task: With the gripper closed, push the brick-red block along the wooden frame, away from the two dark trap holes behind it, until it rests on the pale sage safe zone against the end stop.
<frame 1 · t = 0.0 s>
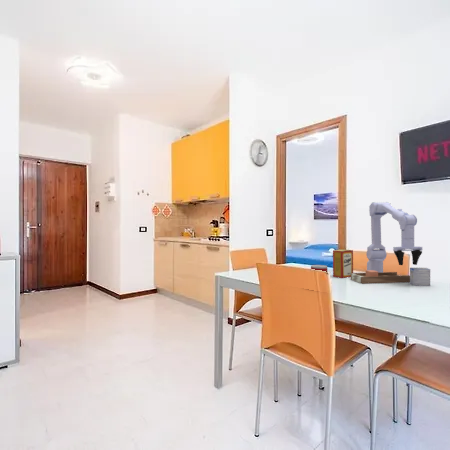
hand: (407, 264, 158), 10 cm above the table, tool pointing down, fingers open, 7 cm apart
baking soda box: (343, 276, 182), on the table
wooden frame: (379, 280, 168), on the table
canned food: (319, 288, 152), on the table
medicine box: (419, 285, 156), on the table
block: (371, 277, 168), point 2 cm above the table, touching wooden frame
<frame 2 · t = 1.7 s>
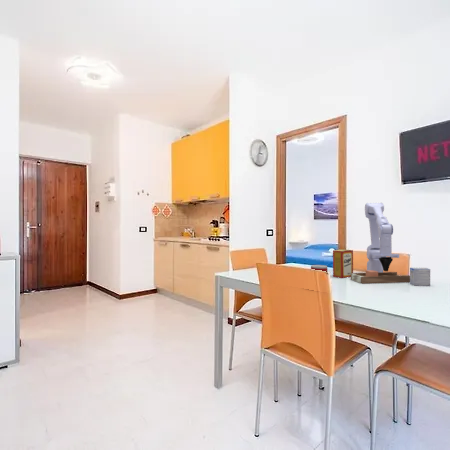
hand: (385, 271, 168), 5 cm above the table, tool pointing down, fingers closed
nothing on the table moved.
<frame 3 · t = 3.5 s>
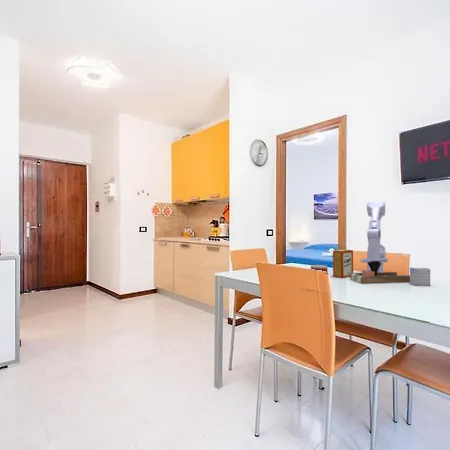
hand: (374, 275, 168), 3 cm above the table, tool pointing down, fingers closed
block: (368, 277, 167), point 2 cm above the table, touching gripper, wooden frame
everything else where it was.
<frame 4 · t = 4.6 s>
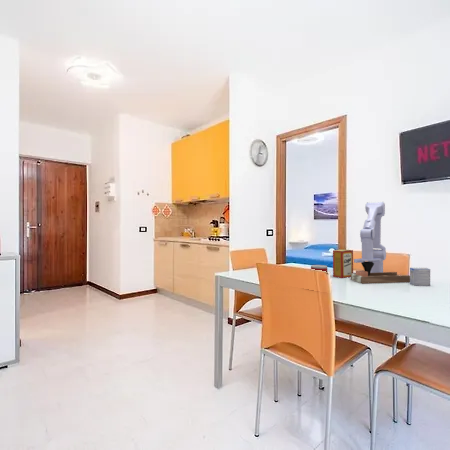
hand: (367, 275, 167), 3 cm above the table, tool pointing down, fingers closed
block: (361, 277, 167), point 2 cm above the table, touching gripper, wooden frame
everything else where it was.
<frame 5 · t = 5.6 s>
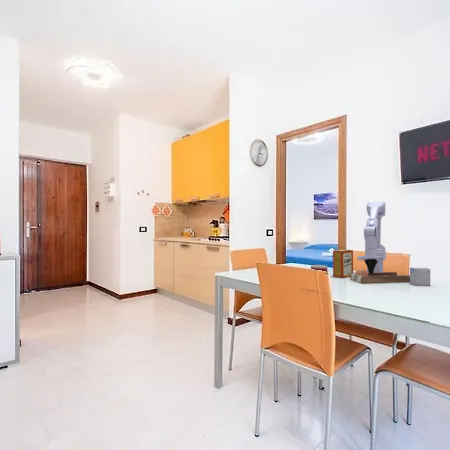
hand: (370, 273, 168), 4 cm above the table, tool pointing down, fingers closed
block: (361, 277, 167), point 2 cm above the table, touching wooden frame
everything else where it was.
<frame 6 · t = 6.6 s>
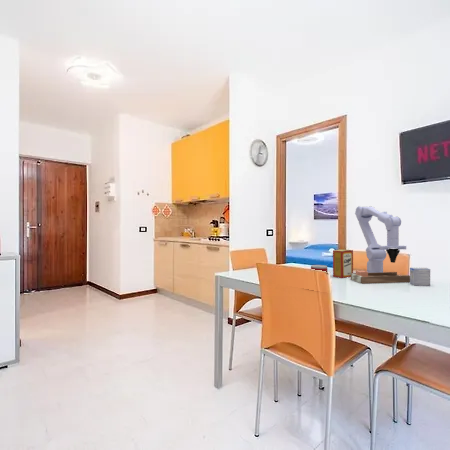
hand: (392, 262, 172), 9 cm above the table, tool pointing down, fingers closed
nothing on the table moved.
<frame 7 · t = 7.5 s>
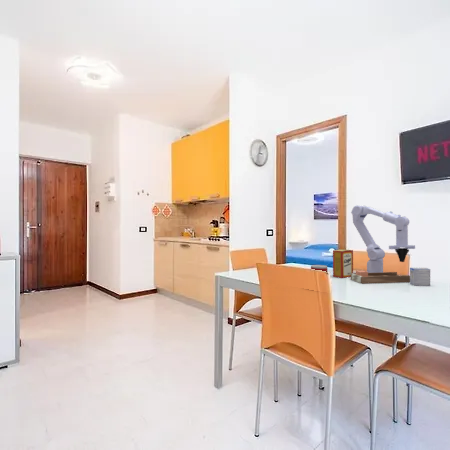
hand: (402, 261, 174), 9 cm above the table, tool pointing down, fingers closed
nothing on the table moved.
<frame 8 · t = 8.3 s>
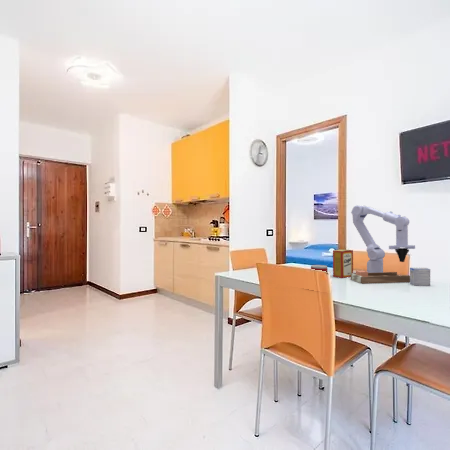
hand: (402, 261, 174), 9 cm above the table, tool pointing down, fingers closed
nothing on the table moved.
at the end: block 0.1 cm from the target spot on the wooden frame, point 2.0 cm above the wooden frame's base; block tilted 0°; block moved 5.7 cm from its start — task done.
